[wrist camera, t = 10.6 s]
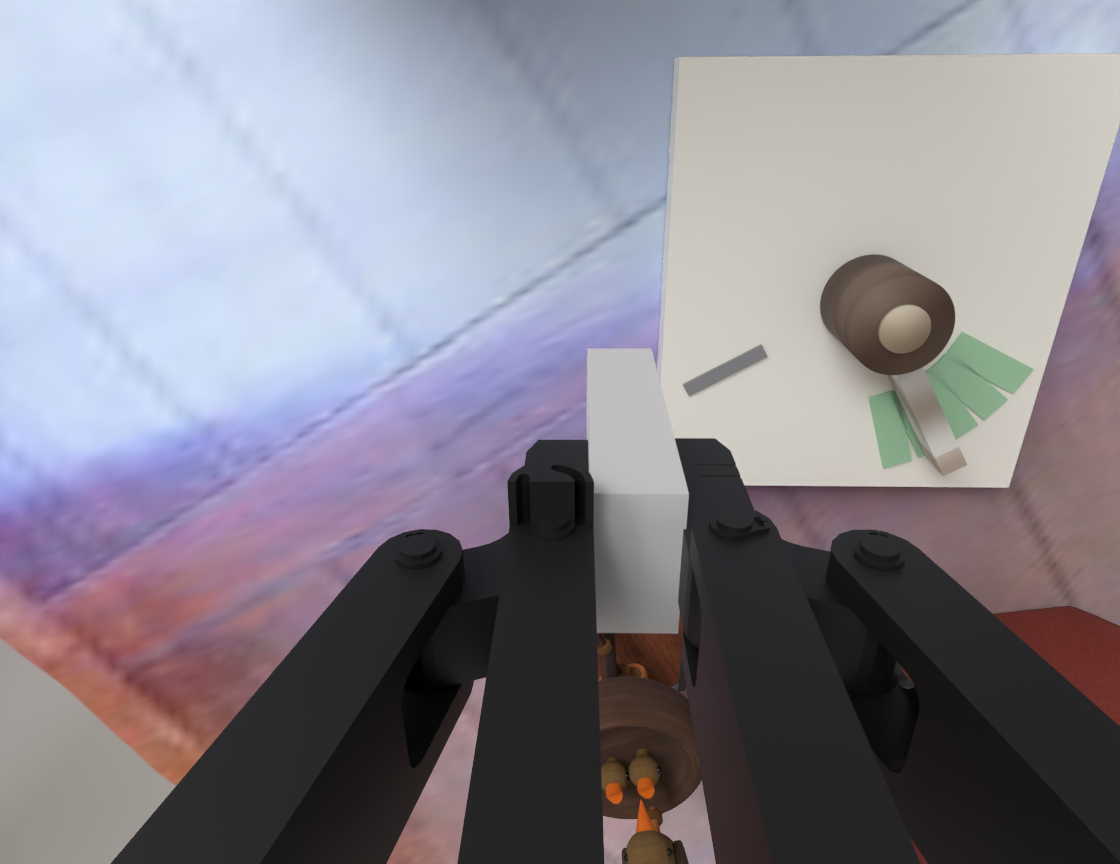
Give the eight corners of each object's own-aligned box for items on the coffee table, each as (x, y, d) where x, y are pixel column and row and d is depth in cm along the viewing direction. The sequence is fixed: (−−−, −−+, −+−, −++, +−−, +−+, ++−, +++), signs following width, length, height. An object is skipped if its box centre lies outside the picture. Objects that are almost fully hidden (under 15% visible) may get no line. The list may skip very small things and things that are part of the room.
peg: (805, 285, 40) (836, 314, 35) (892, 236, 38) (937, 258, 33) (896, 469, 44) (935, 517, 40) (977, 431, 43) (1027, 475, 38)
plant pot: (1137, 559, 50) (1380, 767, 35) (1096, 752, 58) (1277, 989, 43) (854, 591, 52) (967, 801, 37) (852, 774, 60) (944, 1008, 45)
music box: (735, 645, 54) (780, 935, 37) (609, 692, 58) (596, 976, 40) (631, 498, 49) (625, 754, 31) (500, 560, 52) (430, 821, 35)
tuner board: (674, 58, 37) (680, 56, 35) (1108, 54, 37) (1144, 53, 34) (651, 466, 48) (655, 486, 45) (989, 469, 47) (1010, 489, 45)
